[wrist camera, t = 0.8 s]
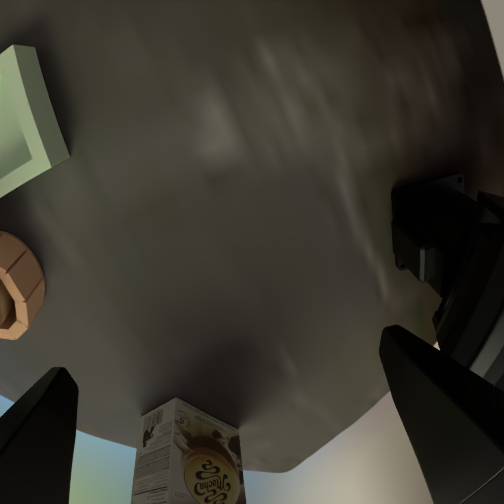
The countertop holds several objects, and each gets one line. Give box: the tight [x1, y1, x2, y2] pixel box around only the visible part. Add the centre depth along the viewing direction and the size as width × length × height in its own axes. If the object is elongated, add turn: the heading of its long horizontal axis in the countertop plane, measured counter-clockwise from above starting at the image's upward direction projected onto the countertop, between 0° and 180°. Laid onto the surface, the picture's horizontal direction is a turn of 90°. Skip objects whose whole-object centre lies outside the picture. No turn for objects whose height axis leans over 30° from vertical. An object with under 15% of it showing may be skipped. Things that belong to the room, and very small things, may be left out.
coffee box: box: [131, 397, 246, 504], centre depth 23 cm, size 9×6×16 cm
